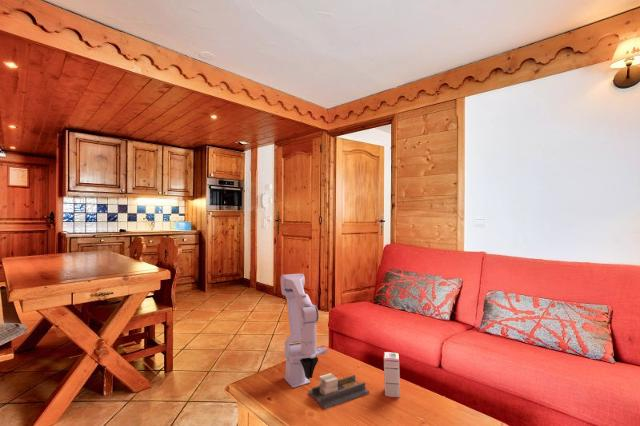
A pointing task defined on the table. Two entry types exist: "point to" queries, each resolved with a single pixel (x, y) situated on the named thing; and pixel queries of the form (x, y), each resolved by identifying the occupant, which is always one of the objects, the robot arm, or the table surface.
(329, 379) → the block
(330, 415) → the table surface
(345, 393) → the chute
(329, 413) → the table surface
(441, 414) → the table surface
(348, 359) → the table surface
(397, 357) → the syrup box
